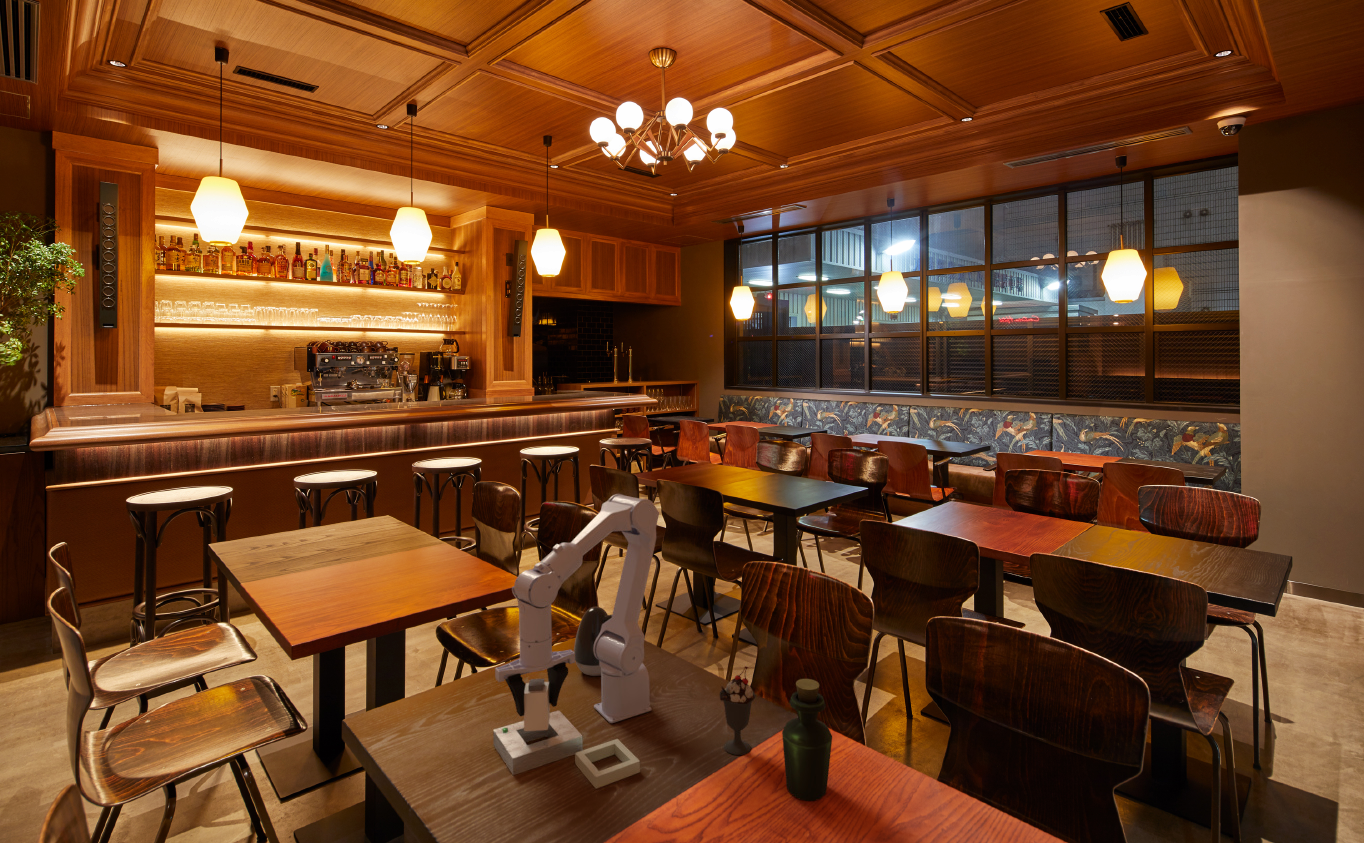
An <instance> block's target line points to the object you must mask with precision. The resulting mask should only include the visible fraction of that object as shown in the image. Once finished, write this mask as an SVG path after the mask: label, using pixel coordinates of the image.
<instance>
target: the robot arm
mask: <svg viewBox="0 0 1364 843" xmlns="http://www.w3.org/2000/svg"><path fill="white" fill-rule="evenodd" d="M600 508H601V509H600V511H599V512H598V513H597V515H596V516H594V518H592V520H591V521H590V522H589V523H588V524H587V525H586V526H585V527H584V528H583V529H582V530H581V531H580V532H579V533H578V534H577V535H576V536H575V538H573V539H572V541H570V542H561V543H559V544H558V543H556V544H555V545H554V546H553V547H552V550H551V552H550V553H549V554H547V555H546V556H545V557H544V558H542V559H541V561H540V562H537V563H535V564H534V566H533V568H532V569H531V568H529V569H526V570H523V571H522V572H521V573H520V574H518V575H517V577H516V579H515V581H514V586H512V587H511V591H512V592H511V593H512V595H513V596H514V597H515V599H516V600H517V607H518V621H519V622H518V623H519V626H518V628H519V629H518V630H519V632H518V633H519V635H518V636H519V658H518V659H515V660H512V661H511V662H508V663H506V664H503V665H500V666H497V667H495V668H494V672H495V673H494V677H495V679H496V681H497V682H498V683H501V682H504V681H505V682H506V684H507V686H508V688H509V691H510V692H511V695H512V697H513V701H514V704H515V709H516V713H517V714H518V716H519V717H524V711H525V710H524V691H525V686H526V683H525V681H524V680H523V677H522V675H526V674H530V673H535V672H542V671H545V670H547V671H546V672H547V680H548V681H547V682H549V704H550V705H551V707H552V708H554V707H557V706H558V705H557V704H558V701H559V696H560V693H561V689H562V686H563V684H564V682H565V681H566V678H567V676H568V675H569V668H568V667H567V664H569V665H572V664H576V661H575V653H574V650H572V649H567V650H560V651H553V649H552V648H553V647H552V646H553V645H552V644H553V643H552V642H553V640H552V638H553V636H552V631H553V630H552V603H554V602H555V600H556V598H557V596H558V592H559V590H560V588H561V587H562V584H563V583H564V582H565V581H567V580H568V579H569V578H570V577H571V576H572V575H573V574H574V573H575V572H576V571H577V570H578V569H579V568H580V567H581V566H582V565H583V558H584V556H585V555H586V554H587V553H588V552H589V551H590V550H592V549H593V548H594V547H596V545H598V544H599V543H600V542H602V540H604V539H605V538H606V537H608V536H609V535H610V534H611V533H612V532H621V533H622V534H623V536H624V538H625V540H626V541H627V542H628V543H627V544H628V545H627V549H626V553H625V557H624V562H623V567H622V569H621V570H622V571H621V576H620V578H619V579H620V580H619V584H618V588H617V592H616V597H615V602H614V604H613V605H614V606H613V611H612V614H611V615H612V618H611V619H609V620H608V621H606V622H605V623H604V624H602V627H601V631H600V633H599V635H598V637H597V638H596V640H595V643H594V647H593V651H594V655H595V657H596V658H597V659H598V660H599V666H601V675H600V676H601V677H600V680H601V684H600V685H601V686H600V687H601V689H600V690H601V694H600V695H601V702H599V703H598V702H597V703H596V704H594V705H593V708H594V709H595V710H596V711H597V712H598V713H599V714H600V715H601V716H602V717H604V719H605V721H608V723H609V724H613V723H617V722H620V721H625V720H626V719H629V718H632V717H635V716H639V715H642V714H645V713H648V712H651V711H652V707H651V706H650V677H649V672H648V668H647V667H646V666H645V664H644V659H645V648H644V643H645V639H646V638H645V637H646V636H645V634H644V632H643V631H642V629H641V627H640V625H639V619H640V614H641V609H642V605H643V601H644V596H645V592H646V586H647V583H648V577H649V573H650V569H651V566H652V560H653V555H654V551H655V547H656V541H657V526H658V520H659V516H660V512H659V511H658V509H657V506H656V505H655V504H654V502H653V501H652V500H650V499H646V498H639V497H635V496H634V497H632V496H627V495H625V494H623V493H616V494H613V495H612V496H610V498H608V500H607V501H605V502H603V503H602V504H601V507H600Z"/></svg>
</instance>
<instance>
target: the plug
mask: <svg viewBox="0 0 1364 843" xmlns="http://www.w3.org/2000/svg"><path fill="white" fill-rule="evenodd" d="M525 684H526V685H525V691H524V710H525V711H524V716H523V721H524V731H537V730H548V725H549V719H550V713H551V711H550V708H551V706H550V705H551V704H550V703H549V682H548V681H545V678H533V679H529V682H526V683H525Z"/></svg>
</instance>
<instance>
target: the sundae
mask: <svg viewBox="0 0 1364 843" xmlns="http://www.w3.org/2000/svg"><path fill="white" fill-rule="evenodd" d="M748 668H749V666H746V665H745V666H744V668H743V671H742V672H741V673H739V674H738V675H735V677H734V678H732V679H730V681H729V682H728V683H727V684H726V687H724V686H723V685H722V686H720V688H721V690H720V691H719V700H720V701H721V702H723V705H724V713H725V721H726V724H727V726H728V727H729V728H730V729H732V730H733V732H734V736H733V739H731V740H728V741H726V742H725V743H724V745H723V748H724V750H725V752H727V753H729V754H730V755H733V756H743V755H746V754H748V753H750V751H751V749H752V746H751V744H750V743H749V742H747V741H745V740H743V739H742V737H741V732H742V731H743V730H744V729H745V728H746V727H747V726H748V725H749V722H750V716H751V708H752V703H753V701H754V700H755V699H756V697H757V695H756V694H755V692H754V691H753V688H752V687H751V686H750V685H749V679H748V678H747V677H746V676H747V675H746V674H747V669H748ZM743 673H744V678H742V677H741V676H742V674H743Z"/></svg>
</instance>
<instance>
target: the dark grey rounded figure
mask: <svg viewBox="0 0 1364 843" xmlns="http://www.w3.org/2000/svg"><path fill="white" fill-rule="evenodd" d="M611 618H612V614H608V613H607V611H606V610H605V609H604V608H602V607H599V606H592V607H589V608H588V609H587V610H586V611H585V612H584V614H583V616H582V617H581V620H580V622H579V626H578V629H577V632H576V635H575V641H574V647H573V652H574V653H575V664H576V666H577V668H578V670H579V671H580V672H582V673H583V674H585V675H586V676H589V677H598V676H601V666H599V660H598V659H597V658H596V657H595V655H594V651H593V647H594V643H595V640H596V638H597V637H598V635H599V633H600V631H601V627H602V624H604V623H605V622H606V621H608V620H609V619H611Z"/></svg>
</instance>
